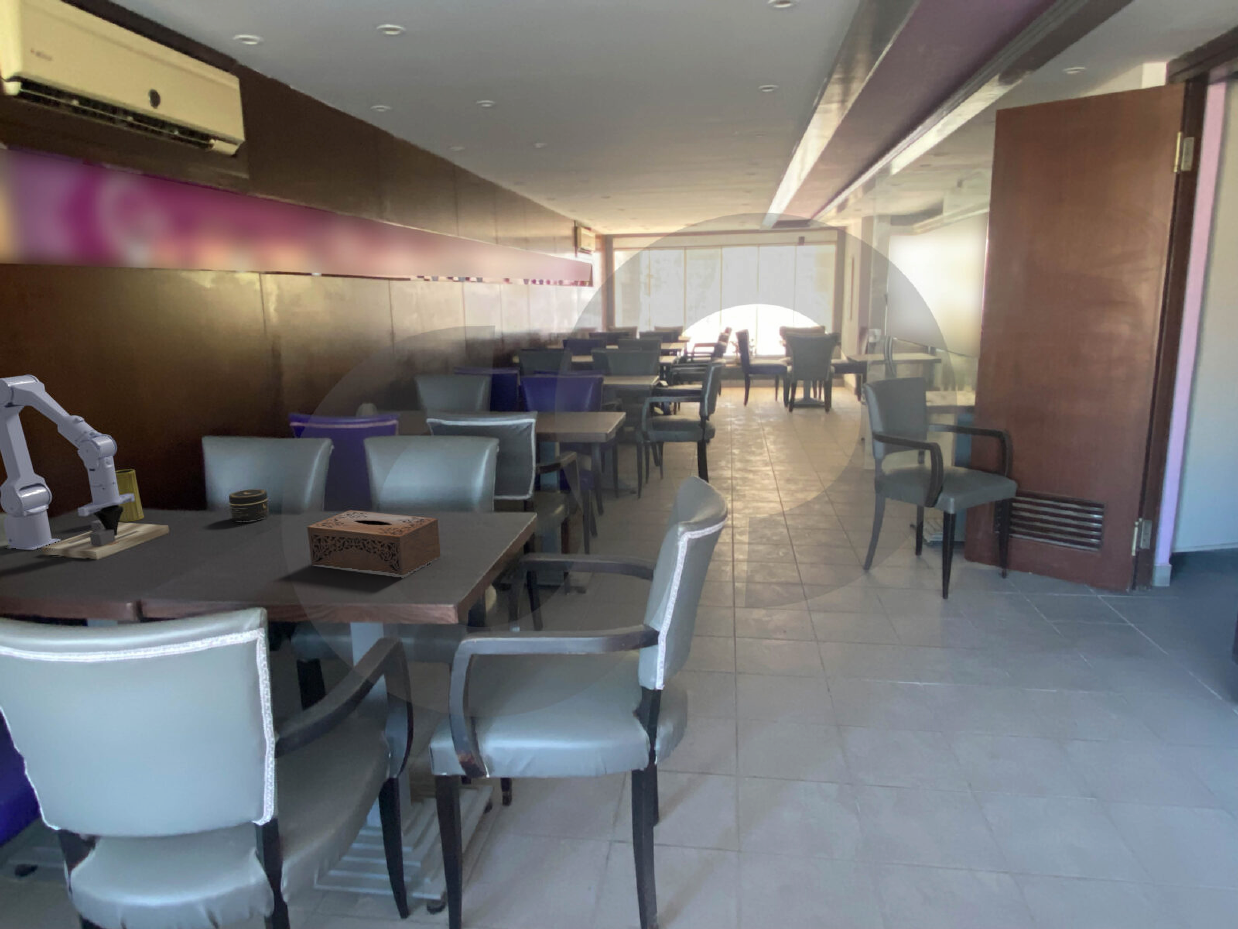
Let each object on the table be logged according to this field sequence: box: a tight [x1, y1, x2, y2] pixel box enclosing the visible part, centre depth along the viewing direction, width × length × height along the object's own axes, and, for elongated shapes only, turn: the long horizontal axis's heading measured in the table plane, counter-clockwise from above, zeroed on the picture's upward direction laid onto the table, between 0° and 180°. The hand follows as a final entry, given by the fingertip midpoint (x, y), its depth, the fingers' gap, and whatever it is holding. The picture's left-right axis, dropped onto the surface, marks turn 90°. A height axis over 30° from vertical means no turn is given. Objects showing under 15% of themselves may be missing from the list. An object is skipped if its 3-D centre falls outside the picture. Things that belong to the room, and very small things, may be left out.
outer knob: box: [90, 529, 115, 546], centre depth 197 cm, size 3×4×3 cm
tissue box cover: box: [307, 509, 442, 575], centre depth 184 cm, size 26×14×10 cm, turn 68°
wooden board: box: [41, 521, 170, 560], centre depth 204 cm, size 17×22×2 cm
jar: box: [228, 488, 270, 522], centre depth 223 cm, size 10×10×8 cm
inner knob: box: [90, 519, 105, 533], centre depth 207 cm, size 3×4×3 cm
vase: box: [115, 468, 145, 523], centre depth 225 cm, size 6×6×14 cm
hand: (112, 535), depth 200 cm, fingers closed
